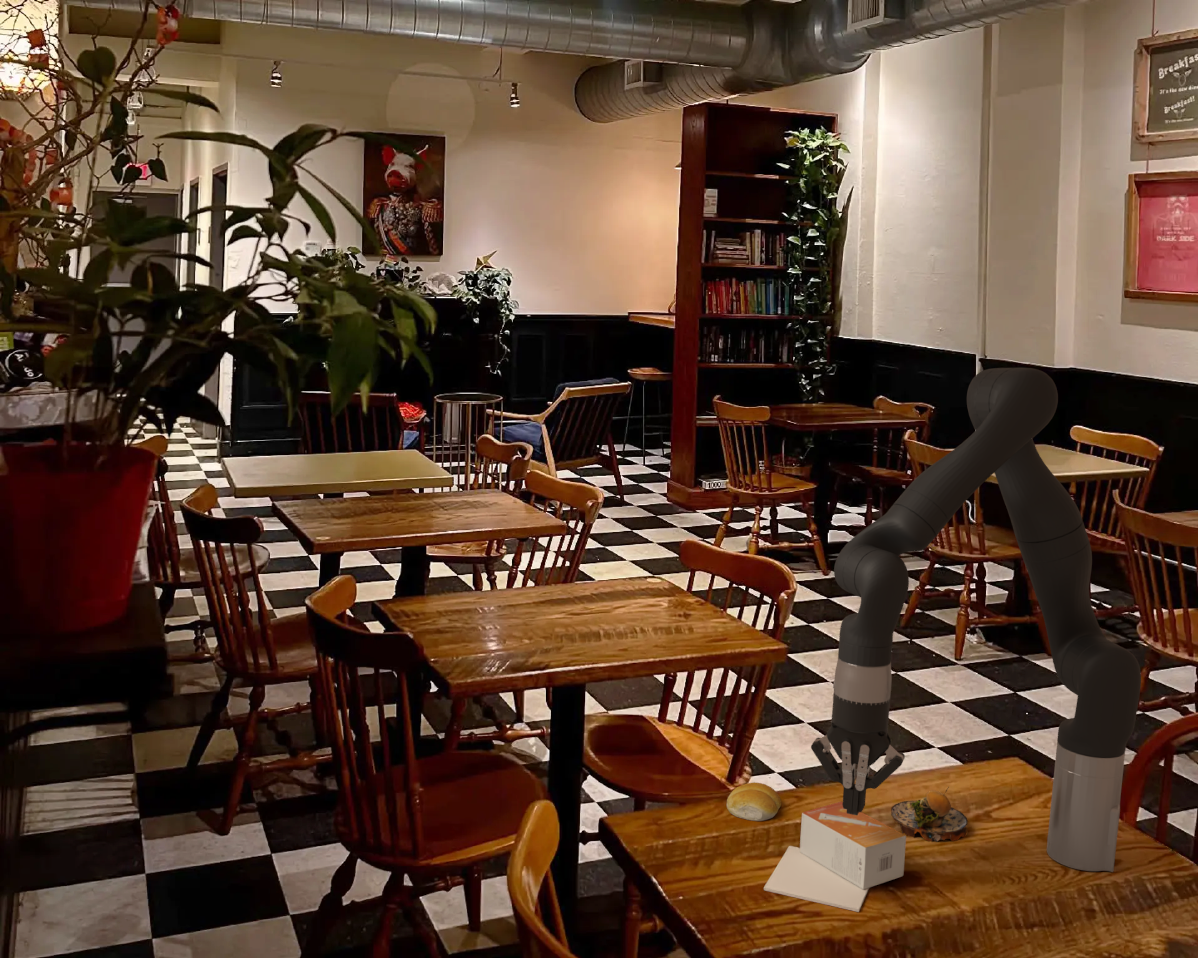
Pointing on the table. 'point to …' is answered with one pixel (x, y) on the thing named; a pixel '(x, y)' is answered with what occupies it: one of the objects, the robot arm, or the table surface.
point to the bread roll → (754, 802)
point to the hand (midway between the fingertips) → (852, 812)
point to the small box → (853, 845)
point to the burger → (930, 818)
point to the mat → (813, 882)
